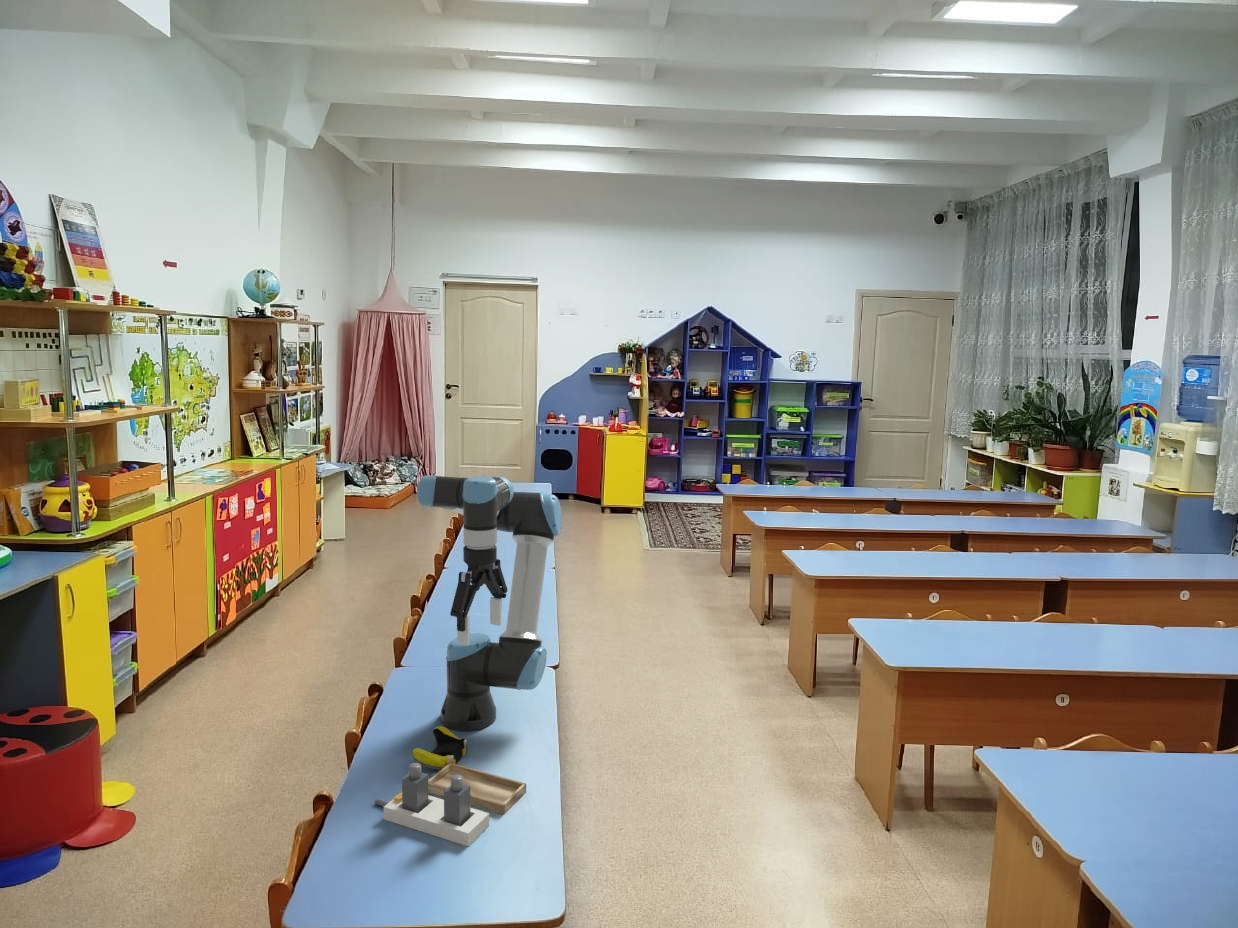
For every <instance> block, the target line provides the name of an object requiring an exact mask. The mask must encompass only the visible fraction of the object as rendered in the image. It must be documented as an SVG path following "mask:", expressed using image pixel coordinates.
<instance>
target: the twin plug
mask: <svg viewBox="0 0 1238 928" xmlns="http://www.w3.org/2000/svg"><path fill="white" fill-rule="evenodd" d="M428 780H429V774H428V773H424V772H422V765H421V764H419V763H417V762H414V763H413V762H412V763H411V764H409V765H408V773H407V774H406V775H404V777H402V778H401V792H402V809H405V810H409V811H412V812H415V813H419V812H420V811H422V810H423V809H424V808H425V807H426V806H427V805H429V799H428V795H429V792H428Z"/></svg>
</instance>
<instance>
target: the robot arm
mask: <svg viewBox="0 0 1238 928" xmlns="http://www.w3.org/2000/svg"><path fill="white" fill-rule="evenodd" d="M416 498H417V501H418V503H419V504H420V506H422V507H428V508H439V509H444V510H448V511H450V512H453V513H457V514H460V515H462V517H463V524H462V527H463V530H462V531H463V544H464V546H463V548H462V549H463V550H462V551H463V555H462V556H463V562H464V563H465V564H466V566H467V570H466V572H464V571H459V572H458V580H457V581H458V582H457V584H456V585H457V586H456V590H455V593H454V598H453V601H452V605H451V609H450V613H449V615H450V616H451V617H455V618H456V631H457V635H456V636H457V637H455V638H453V639H452V640H450V642H449V643H448V645H447V649H446V657H445V661H446V695H445V698H444V700H443V704H442V707H441V711H440V721H441V724H442V726H443V727H444V726H445V728H447V729H451V730H455V731H462V732H463V731H466V732H467V731H468V732H469V731H475V730H480V729H483V728H484V729H485V728H487V727H489V726H490V725H491V724H493V723H494V722H495V721H496V719H497V707H496V705H495V701H494V699H493V695H492V692H491V687H492V688H493V687H494V688H501V689H512V690H518V691H521V690H526V691H531V690H535V689H536V688H537V687H538V686H539V684H540V683H541V680H542V679H543V675H544V672H545V668H546V664H547V654H548V651H547V648H546V647H544V646H542V642H543V639H542V638H541V637H540V636H539V634H538V628H539V621H540V613H541V612H540V611H541V604H542V594H543V585H544V579H545V572H546V571H545V570H546V563H547V562H546V561H547V553H548V548H549V547H550V546H551V545H553V544H554V540H555V539H554V538H555V537H557V536H560V534H561V533H562V526H563V523H562V522H563V518H562V517H563V515H562V509H561V508H562V507H561V503H560V500H559V498H558V497H557V496H556V495H554V494H551V493H544V492H529V491H528V492H526V491H514V487H513V485H512V483H511V482H510V480H509V479H508V478H506V477H503V476H492V477H489V476H472V477H455V476H441V475H435V474H434V475H423V476H422V477H421V478H420V480H419V481H418V484H417V489H416ZM498 531H500V532H505V533H512V537H511V538H512V539H513V540H514V542H515V544H516V548H515V556H514V557H515V558H514V564H513V571H512V572H513V573H512V581H511V588H510V595H509V602H508V603H509V604H508V611H507V620H506V626H505V631H504V632H502V633H501V634H500V635H499V638H498V642H491V641H492V639H491V637H490V635H488V634H486V633H480V632H475V633H470V616H468V615H469V612H470V609H471V607H472V604H473V601H474V599H475V597H476V596H475V595H476V593H477V592H478V591H479V590H480V588H481V587H483V585H485V586H486V588H487V589H488V591H489V592H490V595H491V597H490V598H489V619H490V620H489V623H490V625H494V626H499V627H500V626H502V622H503V621H502V608H503V604H502V601H503V599H506V597H507V593H508V586H507V583H506V580H505V577H504V575H503V571H502V568H501V560H500V559H499V558H497V556H498V555H497V550H498V549H497V548H498V547H497V545H496V544H497V542H498V534H497V533H498Z"/></svg>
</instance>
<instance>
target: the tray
mask: <svg viewBox="0 0 1238 928" xmlns="http://www.w3.org/2000/svg"><path fill="white" fill-rule="evenodd" d="M454 775H462V776H463V784H464V785H467V786H470V806H474V807H477V808H481V809H483V810H487V811H491V812H493V813H496V814H500V815H505V814H506V813H507V812H508V811H509V810H510V809H511V808H512V807H513V806H514V805H515V804H516V803H517V802H518V801H519V800H520V799H521V798H522V797H523V796H524V795H525V794H526V793H527V783H526V782H522V781H520V780H516V779H511V778H507V777H504V776H500V775H497V774H493V773H489V772H485V771H482V770H478V769H476V768H471V767H468V766H463V765H461V764H458V763H457V764H454V763H449V764H448V765H447V766H445V767H444V768H443V769H442V770H440V771H439V770H438V772H437V773H436V774H434V775H432V777H431V778H428V794H432V795H437V796H440V797H443V798H444V790H446V789H447V788H448V787H449V786H450V785H451V777H452V776H454Z"/></svg>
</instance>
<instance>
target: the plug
mask: <svg viewBox="0 0 1238 928" xmlns="http://www.w3.org/2000/svg"><path fill="white" fill-rule="evenodd" d="M443 800H444V822H447V823H450V824H454V825H457V826H460V827H461V826H462V825H463V824H464V823H465V822H466V821H467V820H469V819H470V808H471V805H470V786H467V785H464V784H463V776H462V775H454V776H452V777H451V785H450V786H449V787H448V788H447V789H446V790H444V797H443Z"/></svg>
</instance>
